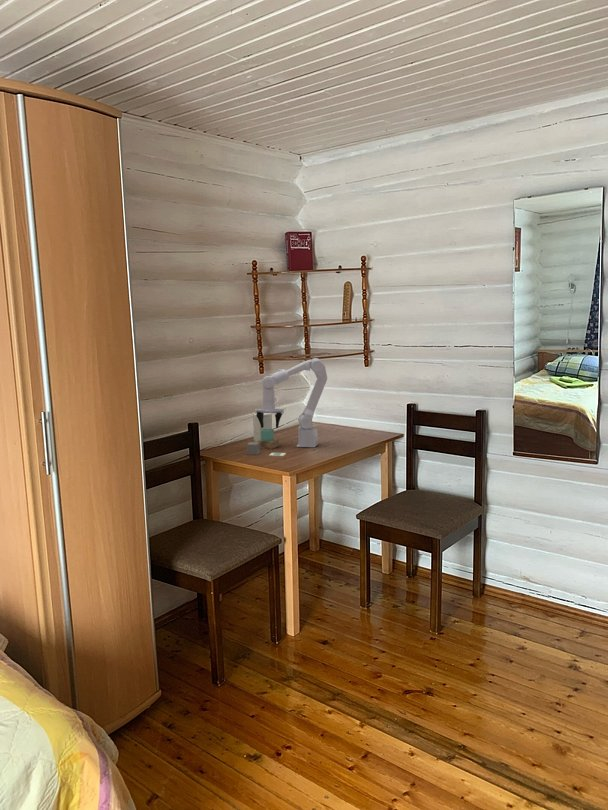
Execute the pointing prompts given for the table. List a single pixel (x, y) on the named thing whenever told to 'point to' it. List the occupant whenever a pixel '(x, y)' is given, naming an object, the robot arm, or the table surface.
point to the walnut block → (269, 444)
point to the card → (277, 454)
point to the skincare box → (257, 427)
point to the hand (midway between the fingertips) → (269, 427)
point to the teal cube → (267, 434)
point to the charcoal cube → (253, 448)
